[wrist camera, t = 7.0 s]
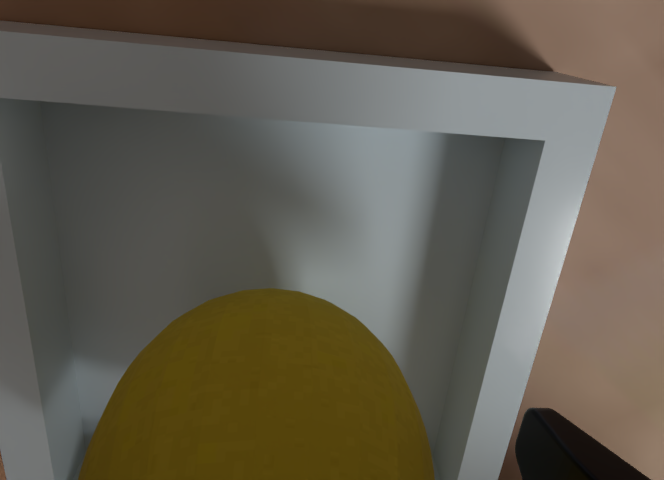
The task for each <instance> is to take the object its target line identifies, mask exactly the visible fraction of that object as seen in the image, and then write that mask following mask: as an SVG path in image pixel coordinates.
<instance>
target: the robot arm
mask: <svg viewBox="0 0 664 480" xmlns="http://www.w3.org/2000/svg"><path fill="white" fill-rule="evenodd" d="M515 453H516V458H517V462H518V465H519V469H520V472H521V475H522V479H523V480H651V479H649V478H648V477H646V476H645V475H644V474H642V473H641V472H639V471H638V470H637V469H635V468H634V467H633V466H631V465H630V464H628V463H627V462H626V461H624V460H623V459H621V458H620V457H619V456H617V455H616V454H614V453H613V452H612V451H610V450H609V449H608V448H606V447H605V446H603V445H602V444H601V443H599V442H598V441H596V440H595V439H594V438H592V437H591V436H589V435H588V434H587V433H585V432H584V431H582V430H581V429H580V428H578V427H577V426H576V425H574V424H573V423H571V422H570V421H569V420H567V419H566V418H564V417H563V416H562V415H560V414H559V413H557V412H556V411H554V410H553V409H550V408H530V409H528V410H527V411H526V412H525V414H524V417H523V421H522V424H521V427H520V430H519V434H518V437H517V440H516V445H515Z"/></svg>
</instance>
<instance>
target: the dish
mask: <svg viewBox="0 0 664 480" xmlns="http://www.w3.org/2000/svg"><path fill="white" fill-rule="evenodd" d="M615 90H616V87H615V86H611V85H607V84H603V83H598V82H594V81H590V80H586V79H582V78H578V77H574V76H570V75H566V74H562V73H558V72H550V71H539V70H528V69H517V68H507V67H496V66H485V65H474V64H463V63H453V62H442V61H431V60H420V59H410V58H399V57H388V56H377V55H366V54H356V53H345V52H334V51H323V50H312V49H302V48H291V47H280V46H269V45H259V44H248V43H237V42H226V41H215V40H205V39H194V38H183V37H172V36H161V35H151V34H140V33H129V32H118V31H107V30H97V29H86V28H75V27H64V26H54V25H43V24H32V23H21V22H10V21H0V451H1V456H2V460H3V465H4V470H5V474H6V479H7V480H78V477H79V473H80V470H81V467H82V464H83V460H84V457H85V454H86V451H87V448H88V446H89V443H90V441H91V439H92V436H93V434H94V431H95V429H96V427H97V424H98V422H99V420H100V418H101V416H102V414H103V412H104V410H105V408H106V406H107V403H108V401H109V399H110V398H111V396H112V394H113V392H114V390H115V388H116V386H117V384H118V382H119V381H120V379H121V378H122V376H123V374H124V373H125V371H126V370H127V368H128V367H129V365H130V364H131V363H132V362H133V360H134V359H135V358H136V357H137V355H138V354H139V353H140V352H141V351H142V350H143V349H144V348H145V347H146V346H147V345H148V344H149V343H150V342H151V341H152V340H153V339H154V338H155V337H156V336H157V335H158V334H159V333H160V332H161V331H162V330H163V329H165V328H166V327H167V326H168V325H169V324H170V323H171V322H172V321H173V320H175V319H177V318H178V317H180V316H181V315H183V314H185V313H186V312H188V311H190V310H192V309H194V308H195V307H197V306H199V305H201V304H203V303H204V302H206V301H208V300H211V299H214V298H217V297H220V296H224V295H228V294H231V293H235V292H238V291H242V290H251V289H265V288H275V289H284V290H292V291H300V292H303V293H306V294H309V295H312V296H315V297H318V298H321V299H324V300H326V301H329V302H331V303H333V304H334V305H336V306H338V307H339V308H341V309H343V310H344V311H346V312H348V313H349V314H351V315H353V316H354V317H356V318H357V319H358V320H359V321H360V322H362V323H363V324H364V325H365V326H366V327H367V328H368V329H369V330H370V331H371V332H372V333H373V334H374V335H375V336H376V337H377V338H378V339H379V340H380V341H381V342H382V343H383V345H384V346H385V347H386V348H387V350H388V351H389V352H390V353H391V355H392V356H393V358H394V359H395V361H396V363H397V365H398V366H399V368H400V370H401V372H402V374H403V376H404V378H405V380H406V382H407V384H408V386H409V389H410V391H411V393H412V395H413V397H414V399H415V402H416V404H417V406H418V409H419V411H420V414H421V417H422V420H423V423H424V426H425V429H426V433H427V437H428V441H429V445H430V449H431V455H432V462H433V468H434V476H435V480H498V477H499V474H500V471H501V467H502V464H503V461H504V458H505V454H506V451H507V448H508V444H509V441H510V438H511V434H512V431H513V428H514V424H515V421H516V418H517V414H518V411H519V408H520V405H521V401H522V398H523V395H524V391H525V388H526V385H527V381H528V378H529V375H530V371H531V368H532V365H533V362H534V358H535V355H536V352H537V348H538V345H539V342H540V338H541V335H542V332H543V328H544V325H545V322H546V318H547V315H548V312H549V309H550V305H551V302H552V299H553V295H554V292H555V289H556V285H557V282H558V279H559V275H560V272H561V269H562V266H563V262H564V259H565V256H566V252H567V249H568V246H569V242H570V239H571V236H572V232H573V229H574V226H575V222H576V219H577V216H578V213H579V209H580V206H581V203H582V199H583V196H584V193H585V189H586V186H587V183H588V179H589V176H590V173H591V170H592V166H593V163H594V160H595V156H596V153H597V150H598V146H599V143H600V140H601V136H602V133H603V130H604V126H605V123H606V120H607V117H608V113H609V110H610V107H611V103H612V100H613V97H614V93H615Z"/></svg>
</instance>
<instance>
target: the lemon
mask: <svg viewBox="0 0 664 480" xmlns="http://www.w3.org/2000/svg"><path fill="white" fill-rule="evenodd" d="M78 480H435V476H434V468H433V462H432V455H431V449H430V445H429V441H428V437H427V433H426V429H425V426H424V423H423V420H422V417H421V414H420V411H419V409H418V406H417V404H416V402H415V399H414V397H413V395H412V393H411V391H410V389H409V386H408V384H407V382H406V380H405V378H404V376H403V374H402V372H401V370H400V368H399V366H398V365H397V363H396V361H395V359H394V358H393V356H392V355H391V353H390V352H389V351H388V350H387V348H386V347H385V346H384V345H383V343H382V342H381V341H380V340H379V339H378V338H377V337H376V336H375V335H374V334H373V333H372V332H371V331H370V330H369V329H368V328H367V327H366V326H365V325H364V324H363V323H362V322H360V321H359V320H358V319H357V318H356V317H354V316H353V315H351V314H349V313H348V312H346V311H344V310H343V309H341V308H339V307H338V306H336V305H334V304H333V303H331V302H329V301H326V300H324V299H321V298H318V297H315V296H312V295H309V294H306V293H303V292H300V291H292V290H284V289H275V288H265V289H251V290H242V291H238V292H235V293H231V294H228V295H224V296H220V297H217V298H214V299H211V300H208V301H206V302H204V303H203V304H201V305H199V306H197V307H195V308H194V309H192V310H190V311H188V312H186V313H185V314H183V315H181V316H180V317H178V318H177V319H175V320H173V321H172V322H171V323H170V324H169V325H168V326H167V327H166V328H165V329H163V330H162V331H161V332H160V333H159V334H158V335H157V336H156V337H155V338H154V339H153V340H152V341H151V342H150V343H149V344H148V345H147V346H146V347H145V348H144V349H143V350H142V351H141V352H140V353H139V354H138V355H137V357H136V358H135V359H134V360H133V362H132V363H131V364H130V365H129V367H128V368H127V370H126V371H125V373H124V374H123V376H122V378H121V379H120V381H119V382H118V384H117V386H116V388H115V390H114V392H113V394H112V396H111V398H110V399H109V401H108V403H107V406H106V408H105V410H104V412H103V414H102V416H101V418H100V420H99V422H98V424H97V427H96V429H95V431H94V434H93V436H92V439H91V441H90V443H89V446H88V448H87V451H86V454H85V457H84V460H83V464H82V467H81V470H80V473H79V477H78Z"/></svg>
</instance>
